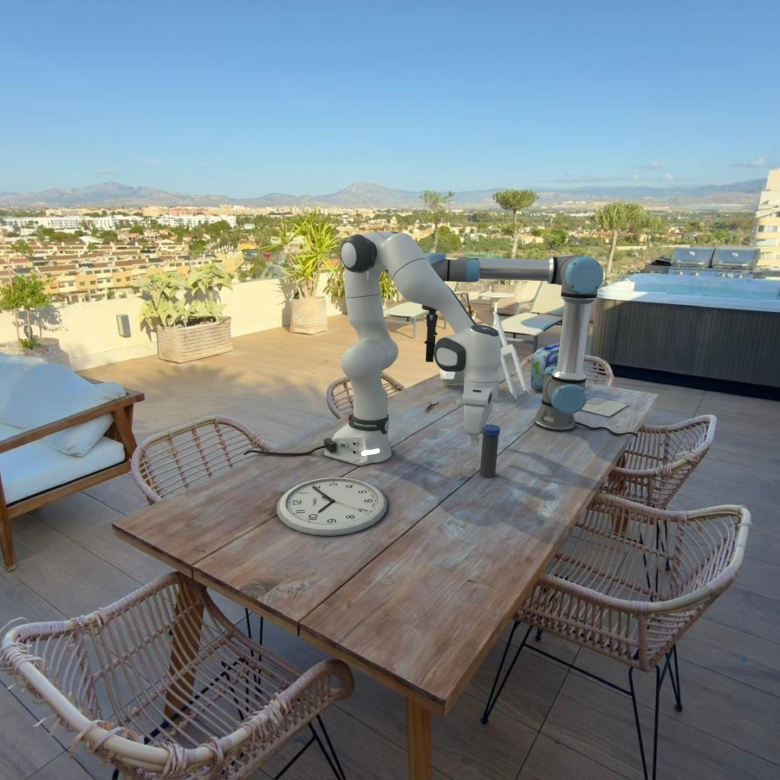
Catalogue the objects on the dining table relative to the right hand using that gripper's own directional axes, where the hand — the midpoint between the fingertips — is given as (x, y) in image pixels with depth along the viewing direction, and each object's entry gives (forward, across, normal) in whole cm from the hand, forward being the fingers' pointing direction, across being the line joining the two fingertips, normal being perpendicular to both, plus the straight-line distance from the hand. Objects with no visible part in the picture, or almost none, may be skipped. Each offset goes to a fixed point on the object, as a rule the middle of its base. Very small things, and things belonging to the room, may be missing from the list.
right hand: (430, 357), depth 190 cm
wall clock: (+28, +61, -23) cm, 71 cm away
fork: (+28, -26, 0) cm, 38 cm away
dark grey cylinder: (+28, +35, +20) cm, 49 cm away
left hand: (+8, +54, +15) cm, 57 cm away
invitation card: (+28, -38, +73) cm, 87 cm away
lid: (+13, +35, +20) cm, 43 cm away
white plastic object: (+28, -50, +22) cm, 61 cm away
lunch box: (+28, -63, +56) cm, 89 cm away
